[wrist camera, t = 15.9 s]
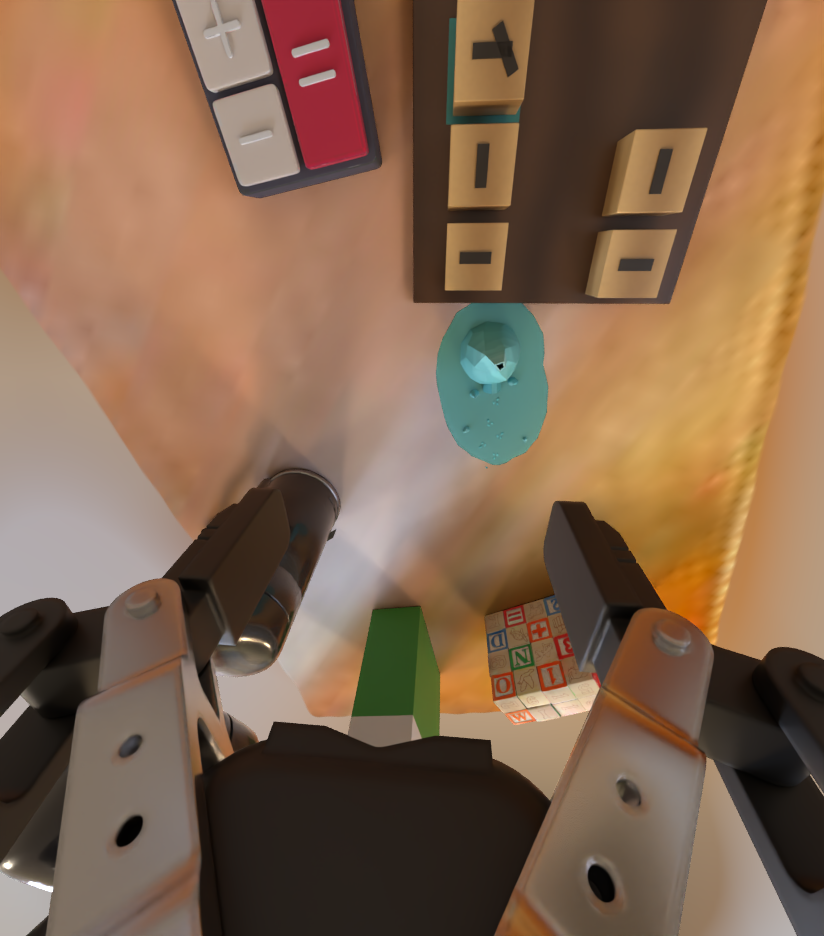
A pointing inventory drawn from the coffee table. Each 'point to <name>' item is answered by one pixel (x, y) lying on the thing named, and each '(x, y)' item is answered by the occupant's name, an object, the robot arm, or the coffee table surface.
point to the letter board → (574, 152)
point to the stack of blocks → (536, 664)
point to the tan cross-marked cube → (491, 56)
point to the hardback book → (397, 681)
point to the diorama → (493, 380)
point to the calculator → (284, 89)
